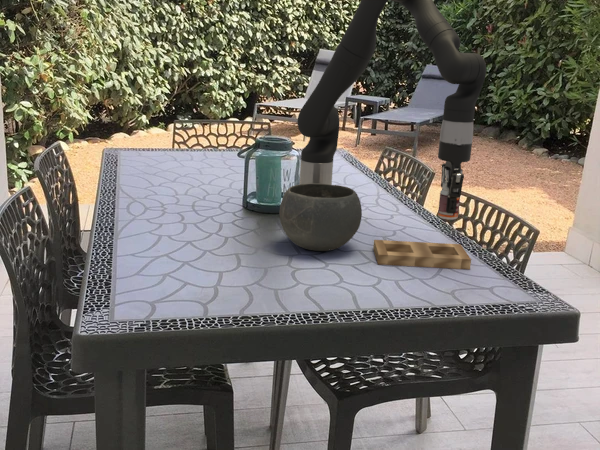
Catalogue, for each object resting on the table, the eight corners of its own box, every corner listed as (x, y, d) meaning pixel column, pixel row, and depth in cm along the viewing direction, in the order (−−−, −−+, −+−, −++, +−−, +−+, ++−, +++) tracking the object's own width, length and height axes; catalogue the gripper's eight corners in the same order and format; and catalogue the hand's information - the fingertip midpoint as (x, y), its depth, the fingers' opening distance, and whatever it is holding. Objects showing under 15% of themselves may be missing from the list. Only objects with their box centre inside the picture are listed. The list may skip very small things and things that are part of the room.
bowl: (369, 244, 180) (374, 188, 176) (340, 266, 162) (345, 204, 158) (299, 231, 188) (302, 177, 184) (264, 250, 170) (266, 191, 166)
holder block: (377, 264, 165) (378, 254, 164) (373, 249, 176) (373, 239, 176) (470, 269, 165) (471, 259, 164) (459, 253, 177) (460, 244, 176)
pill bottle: (457, 220, 165) (461, 186, 163) (437, 218, 166) (441, 184, 164) (457, 215, 170) (461, 182, 167) (437, 213, 171) (441, 180, 168)
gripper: (434, 134, 170) (427, 202, 174) (445, 144, 156) (438, 217, 161) (465, 136, 170) (457, 203, 174) (479, 145, 156) (470, 218, 161)
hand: (448, 209), depth 167 cm, fingers closed on pill bottle, 4 cm apart
